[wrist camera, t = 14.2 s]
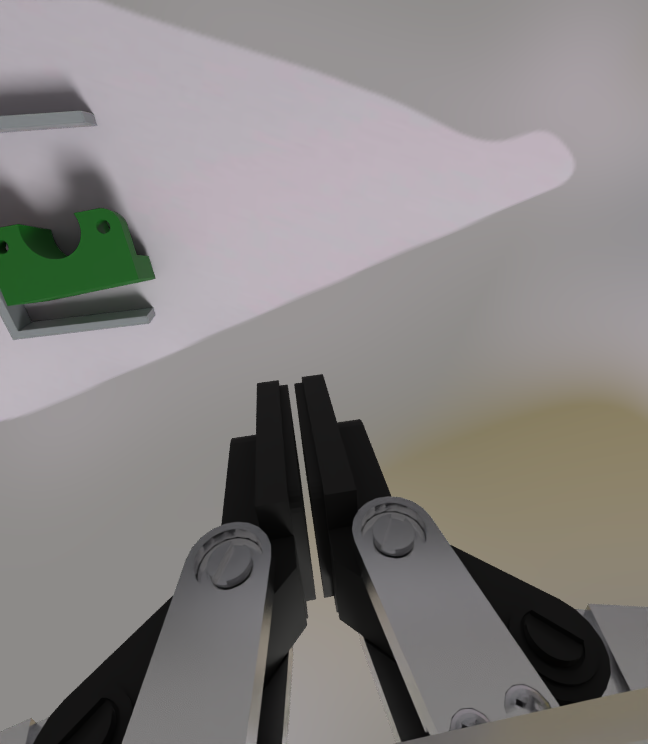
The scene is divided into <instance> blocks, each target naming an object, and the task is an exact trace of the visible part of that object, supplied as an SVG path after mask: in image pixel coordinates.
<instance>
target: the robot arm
mask: <svg viewBox="0 0 648 744" xmlns="http://www.w3.org/2000/svg"><path fill="white" fill-rule="evenodd" d="M294 386H295V393H296V401H297V408H298V416H299V424H300V431H301V439H302V447H303V454H304V462H305V468H306V476H307V483H308V490H309V497H310V503H311V511H312V517H313V524H314V531H315V538H316V545H317V551H318V558H319V565H320V572H321V579H322V585H323V592H324V598H325V597H331V596H334V599H335V605H336V610H337V612H339V618H340V620H342V621H343V622H344V623H346V624H347V625H348V626H350V627H351V628H353V629H354V630H355V631H357V632H358V634H359V639H360V642H361V646H362V649H363V651H364V654H365V657H366V660H367V663H368V666H369V668H370V671H371V674H372V677H373V679H374V683H375V685H376V688H377V691H378V694H379V697H380V699H381V702H382V705H383V708H384V711H385V714H386V717H387V719H388V722H389V725H390V728H391V731H392V733H393V737H394V739H395V742H396V744H648V607H636V606H619V605H600V604H588V605H587V608H586V610H581V609H574V608H572V607H571V606H569V605H568V604H566V603H564V602H563V601H561V600H560V599H558V598H556V597H554V596H552V595H550V594H548V593H546V592H544V591H542V590H540V589H538V588H536V587H534V586H532V585H530V584H528V583H526V582H523V581H522V580H519V579H518V578H516V577H514V576H512V575H510V574H507V573H506V572H503V571H502V570H500V569H498V568H496V567H494V566H492V565H490V564H488V563H485V562H484V561H482V560H480V559H478V558H475V557H474V556H472V555H470V554H468V553H466V552H463V551H462V550H460V549H458V548H456V547H454V546H452V545H450V544H449V543H448V541H447V540H446V538H445V537H444V535H443V534H442V533H441V531H440V530H439V528H438V527H437V525H436V524H435V523H434V521H433V519H432V518H431V517H430V515H429V514H428V513H427V512H426V511H425V510H424V509H423V508H422V507H420V506H419V505H417V504H416V503H414V502H413V501H410V500H407V499H404V498H401V497H391V494H390V492H389V489H388V487H387V484H386V481H385V479H384V476H383V474H382V471H381V469H380V466H379V464H378V461H377V459H376V456H375V453H374V451H373V448H372V446H371V443H370V441H369V438H368V436H367V433H366V430H365V428H364V425H363V423H362V421H361V420H360V419H358V420H352V421H345V422H338V423H337V421H336V417H335V415H334V411H333V407H332V404H331V400H330V397H329V394H328V391H327V387H326V384H325V380H324V377H323V374H321V375H313V376H306V377H302V383H296V384H295V385H294ZM315 599H316V595H315V588H314V579H313V571H312V564H311V557H310V548H309V540H308V532H307V524H306V516H305V509H304V501H303V493H302V485H301V477H300V469H299V462H298V456H297V448H296V441H295V435H294V427H293V420H292V413H291V406H290V398H289V391H288V385H281V386H279V381H278V380H277V381H270V382H262V383H257V413H256V435H251V436H245V437H237V438H232V439H231V443H230V451H229V460H228V469H227V479H226V489H225V498H224V506H223V516H222V525H221V526H219V527H216V528H214V529H212V530H211V531H209V532H208V533H206V534H205V535H204V536H203V537H201V538H200V539H199V540H198V541H197V543H196V544H195V545H194V546H193V547H192V549H191V551H190V552H189V554H188V557H187V558H186V561H185V563H184V566H183V569H182V572H181V575H180V578H179V581H178V584H177V586H176V589H175V592H174V595H173V596H172V597H171V598H170V599H169V600H168V601H167V602H166V603H165V604H164V605H163V606H162V607H161V608H160V609H159V610H158V611H156V612H155V613H154V614H153V615H152V616H151V617H150V618H149V619H148V620H147V621H146V622H145V623H144V624H143V625H142V626H141V627H140V628H139V629H138V630H137V631H136V632H135V633H133V634H132V636H130V637H129V638H128V639H127V640H126V641H125V642H124V643H123V644H122V645H121V646H120V647H119V648H118V649H117V650H116V651H115V652H114V653H113V654H112V655H111V656H109V657H108V658H107V659H106V660H105V661H104V662H103V663H102V664H101V665H100V666H99V667H98V668H97V669H96V670H95V671H94V672H93V673H92V674H91V675H90V676H89V677H88V678H87V679H85V680H84V681H83V682H82V683H81V684H80V685H79V687H77V688H76V689H75V690H74V691H73V692H72V693H71V694H70V695H69V696H68V697H67V698H66V699H65V700H64V701H63V702H62V703H61V704H60V705H59V707H58V708H57V709H56V710H55V711H54V712H53V713H52V714H51V716H50V717H48V718H46V719H44V720H42V721H40V722H37V723H36V722H35V721H34V720H33V719H32V718H30V719H28V720H26V721H23V722H21V723H19V724H16V725H14V726H12V727H10V728H8V729H5V730H3V731H1V732H0V744H287V743H288V727H289V713H290V697H291V682H292V666H293V644H294V643H295V642H296V640H297V639H298V637H299V636H300V635H301V633H302V632H303V630H304V629H305V628H306V626H307V621H306V618H308V614H307V604H306V601H309V600H315Z"/></svg>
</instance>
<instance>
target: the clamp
mask: <svg viewBox="0 0 648 744" xmlns="http://www.w3.org/2000/svg"><path fill="white" fill-rule="evenodd" d="M74 214H75V216H76V218H77V220H78V222H79V225H80V229H81V239H80V242H79V245H78V247H77V249H76V250H75V251H74V252H73V253H72V254H71V255H69V256H67V255H65V254H64V253H63V252H62V251H61V250H60V249H59V248H58V247H57V245H56V243H55V241H54V239H53V235H52V232H51V230H49V229H43V228H37V227H32V226H26V225H20V224H16V225H11V226H6V227H1V228H0V290H1V292H2V294H3V297H4V299H5V302H6V304H7V306H13V305H21V304H29V303H37V302H44V301H50V300H55V299H60V298H65V297H70V296H75V295H80V294H85V293H89V292H94V291H99V290H104V289H109V288H114V287H119V286H123V285H128V284H133V283H138V282H143V281H148V280H152V279H156V278H155V275H154V272H153V269H152V265H151V262H150V259H149V256H142V255H137V254H136V251H135V248H134V244H133V241H132V238H131V235H130V232H129V229H128V226H127V223H126V221H125V219H124V218H123V217H122V216H121V215H120V214H118V213H116V212H113V211H111V210H108V209H104V208H98V209H93V210H88V211H82V212H77V213H74ZM107 222H108V223H109V224H110V229H109V226H108V223H107ZM6 243H7V244H8V247H9V249H8V251H7V250H6Z"/></svg>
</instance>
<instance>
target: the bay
mask: <svg viewBox="0 0 648 744" xmlns="http://www.w3.org/2000/svg"><path fill="white" fill-rule="evenodd" d="M84 126H97V123H96V120H95V117H94V114H92V113H88V112H85V111H66V112H52V113H38V114H23V115H9V116H0V133H3V132H16V131H30V130H44V129H57V128H71V127H84ZM0 316H1V318H2V320H3V322H4V324H5V325H6V327H7V329H8V331H9V333H10V335H11V337H12V339H13V340H16V339H25V338H33V337H41V336H50V335H58V334H66V333H75V332H83V331H91V330H100V329H108V328H116V327H125V326H133V325H141V324H149V323H150V322H151V321H152V319H153V318H154V316H155V312H154V309H153V308H146V309H137V310H129V311H120V312H111V313H103V314H94V315H86V316H77V317H68V318H60V319H51V320H43V321H34V322H31V320H30V318H29V315H28V313H27V311H26V309H25V307H24V305H23V304H21V305H13V306H7V304H6V302H5V299H4V297H3V294H2V292H1V290H0Z"/></svg>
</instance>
